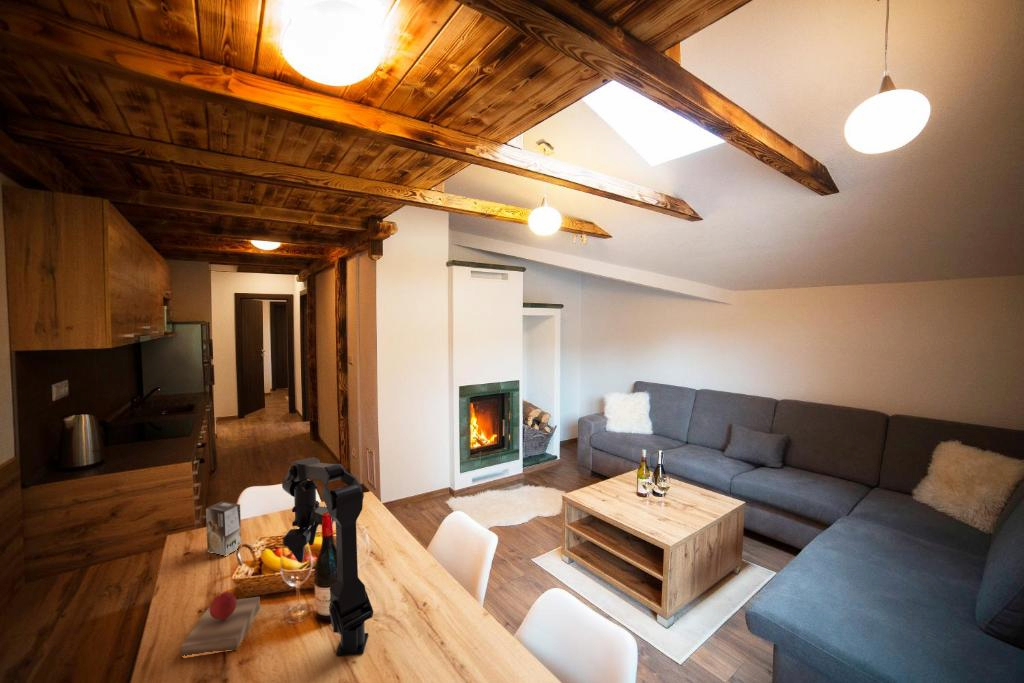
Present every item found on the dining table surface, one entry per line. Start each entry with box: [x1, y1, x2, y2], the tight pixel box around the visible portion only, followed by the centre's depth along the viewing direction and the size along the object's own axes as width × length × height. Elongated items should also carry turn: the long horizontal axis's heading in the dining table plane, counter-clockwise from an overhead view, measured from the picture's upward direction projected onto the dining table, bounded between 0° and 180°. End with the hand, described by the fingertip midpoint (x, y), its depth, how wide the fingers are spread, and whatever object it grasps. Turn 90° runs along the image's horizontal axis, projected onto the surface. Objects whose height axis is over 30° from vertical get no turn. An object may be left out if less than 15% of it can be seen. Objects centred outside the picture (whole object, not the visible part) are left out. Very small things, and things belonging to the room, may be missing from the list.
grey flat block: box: [180, 596, 261, 656], centre depth 111 cm, size 16×12×4 cm
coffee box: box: [205, 500, 242, 555], centre depth 150 cm, size 9×6×16 cm
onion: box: [209, 590, 238, 620], centre depth 110 cm, size 6×6×8 cm
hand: (306, 553), depth 125 cm, fingers open, 9 cm apart
